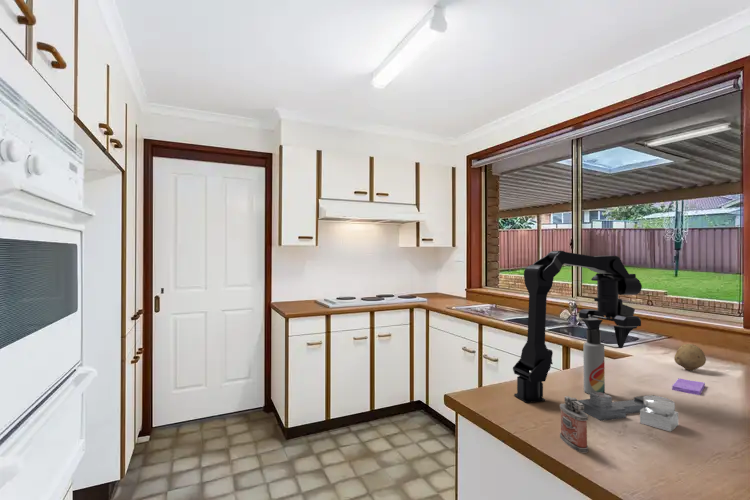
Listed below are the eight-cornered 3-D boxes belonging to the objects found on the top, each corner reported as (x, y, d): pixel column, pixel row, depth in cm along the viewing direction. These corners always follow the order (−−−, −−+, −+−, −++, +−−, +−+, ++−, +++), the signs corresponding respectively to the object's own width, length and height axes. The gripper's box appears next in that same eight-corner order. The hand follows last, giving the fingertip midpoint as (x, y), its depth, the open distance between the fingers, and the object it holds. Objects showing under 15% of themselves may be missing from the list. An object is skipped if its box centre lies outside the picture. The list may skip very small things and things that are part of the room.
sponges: (671, 391, 124) (671, 385, 124) (678, 382, 133) (678, 377, 133) (700, 397, 119) (700, 391, 119) (705, 387, 128) (705, 382, 128)
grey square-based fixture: (670, 431, 94) (670, 406, 94) (640, 423, 99) (639, 399, 99) (678, 424, 98) (678, 400, 98) (648, 416, 103) (648, 393, 103)
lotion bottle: (607, 396, 118) (607, 330, 118) (587, 395, 119) (586, 329, 119) (600, 390, 123) (600, 327, 124) (581, 389, 124) (580, 326, 125)
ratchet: (600, 421, 100) (600, 401, 100) (577, 409, 108) (577, 391, 108) (675, 412, 106) (675, 394, 106) (648, 402, 114) (648, 384, 114)
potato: (713, 374, 141) (713, 347, 141) (688, 374, 141) (688, 346, 142) (693, 367, 150) (693, 341, 150) (670, 367, 150) (670, 341, 151)
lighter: (556, 435, 91) (556, 392, 91) (570, 435, 92) (569, 392, 92) (577, 452, 83) (576, 405, 83) (592, 452, 83) (591, 405, 84)
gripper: (655, 297, 116) (656, 350, 115) (605, 292, 134) (605, 337, 133) (625, 298, 113) (625, 352, 113) (577, 292, 131) (577, 339, 131)
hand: (608, 344), depth 122 cm, fingers open, 9 cm apart
